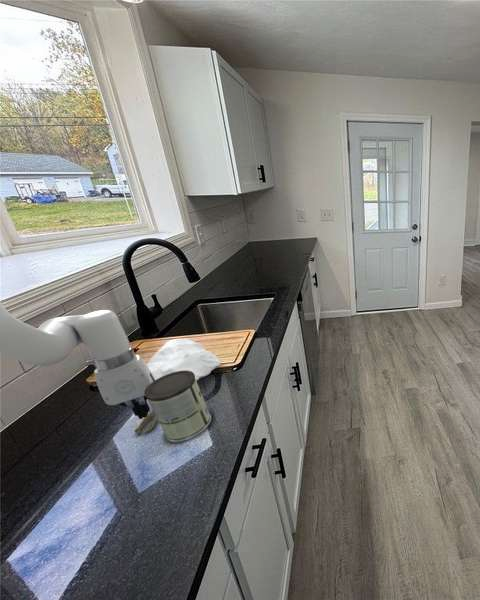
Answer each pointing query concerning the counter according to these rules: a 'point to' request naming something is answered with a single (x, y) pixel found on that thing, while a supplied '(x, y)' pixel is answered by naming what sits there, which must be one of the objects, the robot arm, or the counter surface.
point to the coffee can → (178, 405)
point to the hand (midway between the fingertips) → (144, 414)
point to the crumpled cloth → (183, 359)
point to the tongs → (146, 422)
